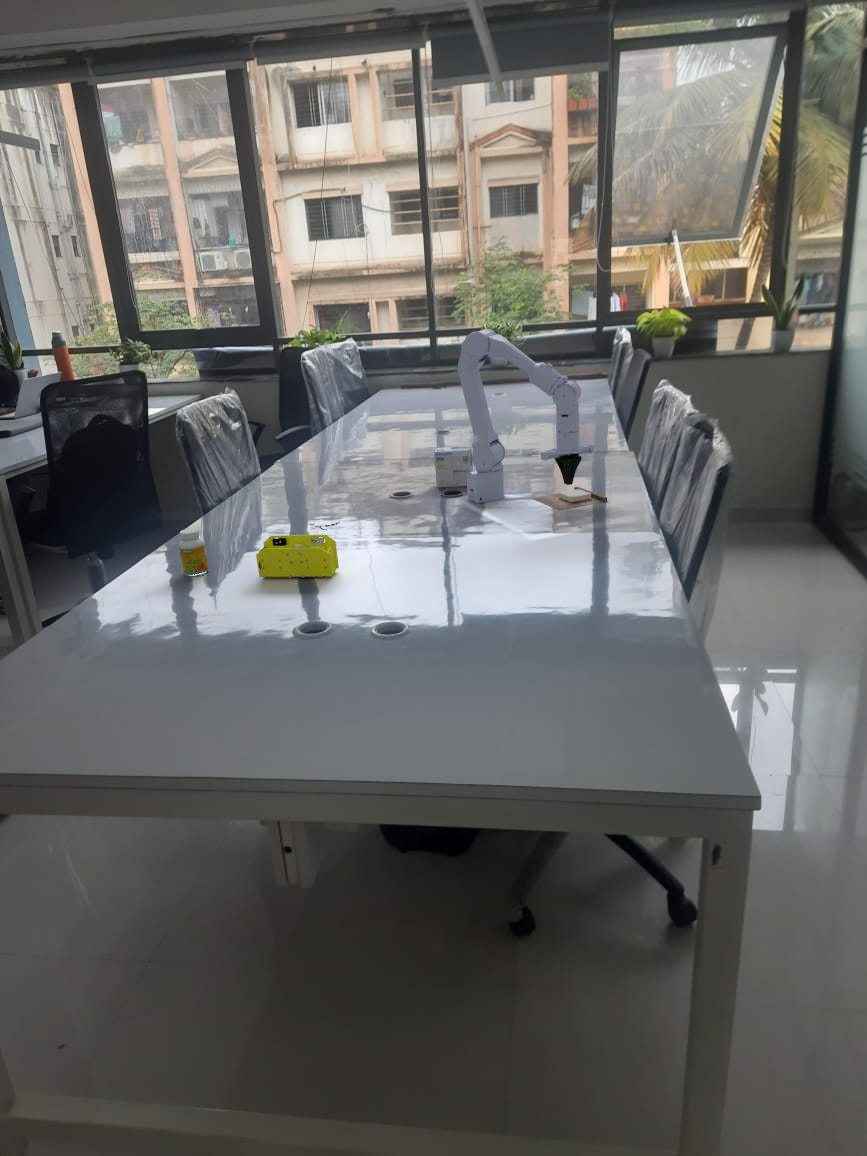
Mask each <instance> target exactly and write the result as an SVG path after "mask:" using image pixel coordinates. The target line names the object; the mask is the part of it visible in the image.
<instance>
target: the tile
mask: <svg viewBox="0 0 867 1156" xmlns="http://www.w3.org/2000/svg"><path fill="white" fill-rule="evenodd" d="M558 494H559V498H561V499H564V500H566V501H569V502H577V501H582V500H587V499H591V493H588V492H585V491H583V490H580V489H576V490H574V489H570V490H566V491H560V492H558Z"/></svg>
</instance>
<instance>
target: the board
mask: <svg viewBox="0 0 867 1156" xmlns="http://www.w3.org/2000/svg"><path fill="white" fill-rule="evenodd" d="M573 488H574V489H573V490H576V489H580V490H583V491H585V492H588V493H591V499H587V500H582V501H577V502H569V501H566V500H564V499H561V498H559V493H555V494H550V495H549V494H548V495H544V496H539V497H533V498H531V499H532V500H534V501H536V502H538V503H540V504H543V505H545V506H547V507H550V508H553V509H555V510H558V511H563V510H569V509H574V508H579V507H580V508H581V507H585V506H590V505H595V504H601V503H605V502H608V497H607V496H605V495H602V494H599V493H596V492H594V491H592V490H588V489H586V488H582V487H580V486H574V487H573Z"/></svg>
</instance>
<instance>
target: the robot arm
mask: <svg viewBox="0 0 867 1156" xmlns="http://www.w3.org/2000/svg"><path fill="white" fill-rule="evenodd" d="M460 346H461V347H460V348H461V350H460V355H459V359H458V363H457V372H458V377H459V380H460V384H461V385H460V386H461V389H462V392H463V396H464V397H463V398H464V400H465V404H466V408H467V413H468V417H469V421H470V424H471V428H472V432H473V438H472V444H471V448H472V465H473V466H474V467H475V469H474V470H473V472H470V473H468V475H467V486H466V488H467V489H466V491H467V499H468V500H470V501H472V502H474V503H476V504H478V503H484V502H485V503H486V502H490V501H491V502H492V501H499V500H502V499H504V498H505V484H504V483H505V481H504V480H505V479H504V478H505V477H504V465H503V463H502V462H503V460H504V459H505V457H506V448H505V446H504V445H503V444H502V442H501V441H500V438H499V435H498V433H497V432H496V431H495V430H494V428H493V427H494V426H493V422H492V418H491V414H490V411H489V410H490V409H489V405H488V402H487V398H486V393H485V388H484V385H483V381H482V376H481V373H480V370H481V368H482V366H483V365H484V363H485V362H486V360H487V359H488V358H502V359H504V360H506V361H508V363H510V364H512V365H513V366H515V367H517V368H518V369H519V370H520V371H523V372H524V373H526V374H527V375H528V380H529V382H530V384H532V385H534V386H535V387H536V388H537V389H539V390H541V391H542V392H543V393H544V394H546V395H548V397H552V401H553V403H554V404H555V435H556V436H555V438H556V439H555V443H556V444H555V445H556V447H554V448H552V449H548V450H543V451H540V459H541V460H543V461H549V460H552V459H554V461H555V463H556V464H557V466H558V468H559V470H560V473H561V477H562V480H563V484H564V485H566V486H569V485H573V484H574V483H573V482H574V479H575V475H576V472H577V469H578V467H579V465H580V464H581V461H582V456H581V455H583V454H589V453H591V454H593V453H595V450H596V449H595V444H592V443H587V444H580V412H579V409H580V407H579V406H580V405H579V404H580V403H579V400H580V398H581V396H582V388H581V387H580V385H579V384H578V383H577V381H576V380H573V379H568V378H569V377H568V376H567V375H562V374H561V373H560V372H558V371H557V370H555V369H554V368H553V366H554V365H552V364H551V363H550V362H547V363H545V362H544V361H543V362H535V360H533V359H532V358H530V357H529V356H528V355H527V354H525V353H524V352H523V351H522V350H521V349H519V348H518V347H516V346H515V345H514V344H513V343H512V342H510V341H509V340H508V339H507V338H505V336H503V335H501V334H499V333H498V334H497V332H496V331H495V330H493V329H491V328H485V329H482V330H479V331H472V332H470V333H469V334H468V335H466V336H465V338H464V340H463V341H462V342H461V344H460Z"/></svg>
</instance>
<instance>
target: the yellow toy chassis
mask: <svg viewBox="0 0 867 1156" xmlns="http://www.w3.org/2000/svg"><path fill="white" fill-rule="evenodd" d="M337 549H338V548H337V542H336V540H334V539H333V538H331V536H329V535H328V534H287V535H286V534H285V535H283V534H280V535H277V534H276V535H270V536H269V537H268V538H267V539H266V540H265V541H264V542H263V548H261V549H260V550H259V552H258V553H256V554H255V557H256V564H257V570H258V575H259V576H258V577H259V578H266V577H267V578H275V577H277V578H284V577H285V578H287V577H288V578H289V579H291V578H293V577H298V578H299V577H301V578H302V579H303V578H305V577H307V578H308V577H316V576H318V577H317V578H323V577H322V576H325V577H333V575H334V574H335V573H336V571H337V569H339V568H340V567H339V559H338V551H337Z"/></svg>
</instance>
